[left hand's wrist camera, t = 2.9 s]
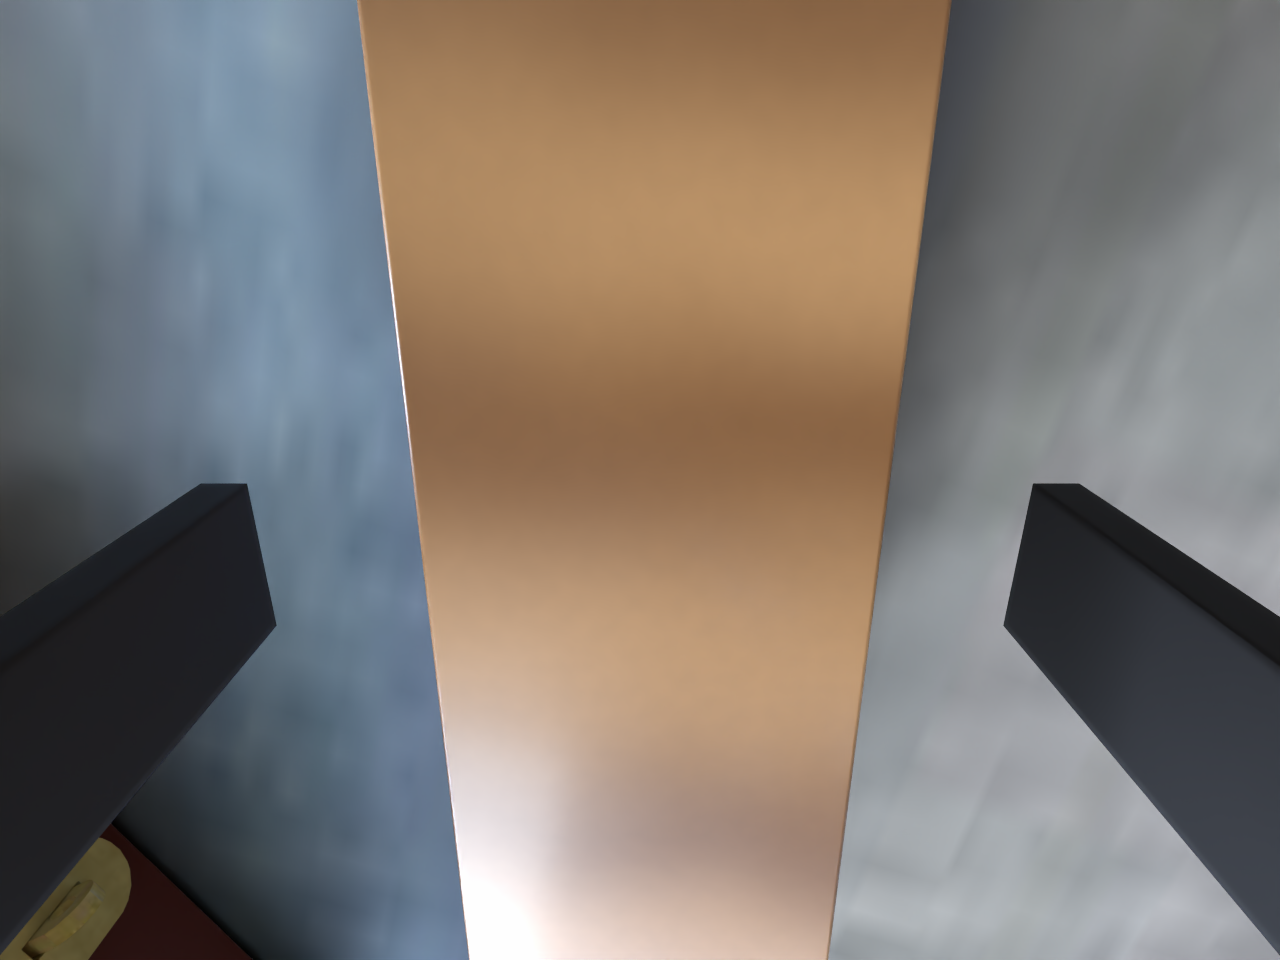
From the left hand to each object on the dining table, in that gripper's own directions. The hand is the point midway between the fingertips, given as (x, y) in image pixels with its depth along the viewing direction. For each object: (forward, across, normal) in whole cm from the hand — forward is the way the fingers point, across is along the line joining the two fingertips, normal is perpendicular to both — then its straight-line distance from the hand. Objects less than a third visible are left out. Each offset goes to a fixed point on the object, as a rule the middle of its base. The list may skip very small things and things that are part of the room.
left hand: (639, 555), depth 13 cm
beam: (+4, 0, -24) cm, 25 cm away
